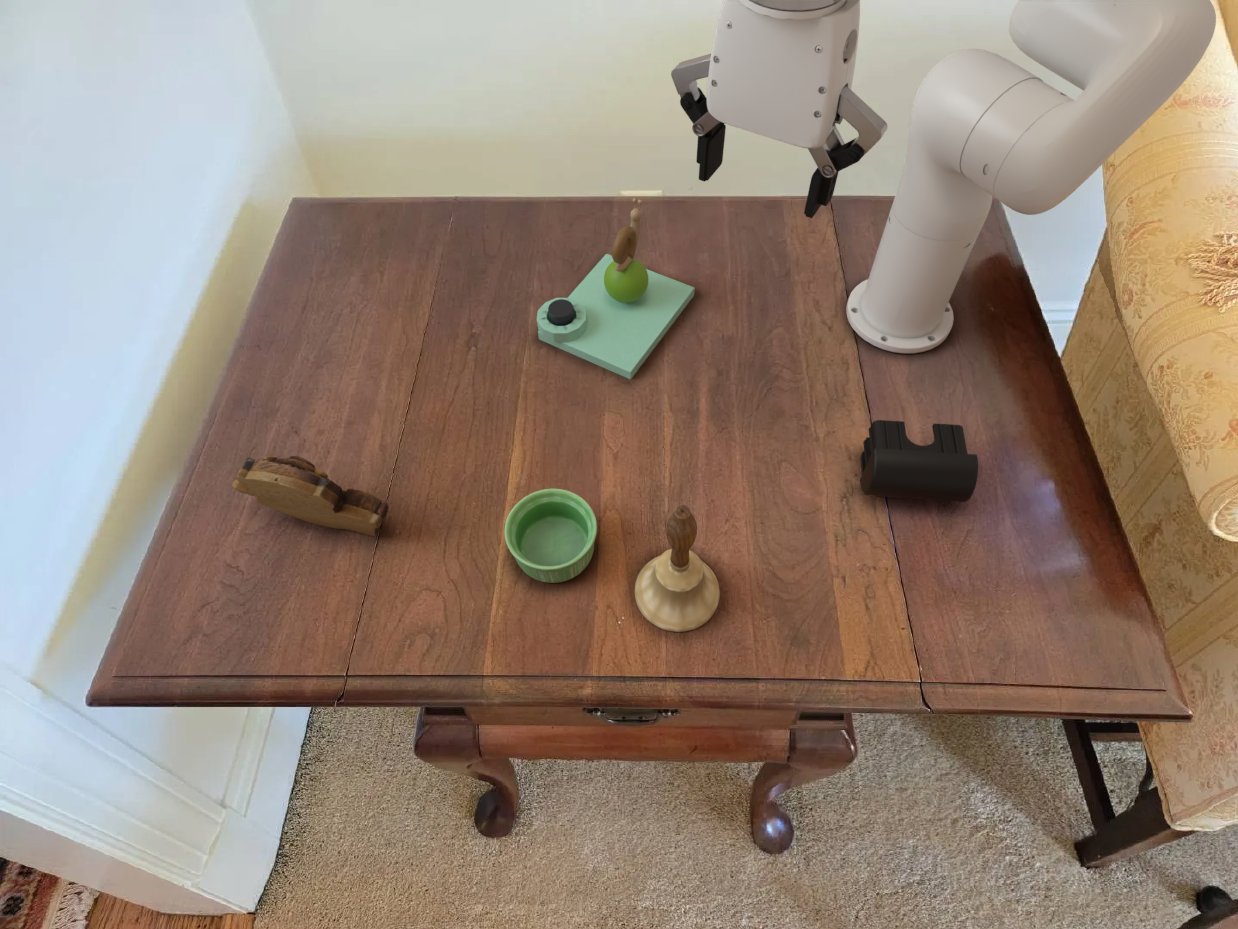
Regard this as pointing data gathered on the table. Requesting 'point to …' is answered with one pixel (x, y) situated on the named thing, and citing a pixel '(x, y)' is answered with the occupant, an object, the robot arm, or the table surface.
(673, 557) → the hand bell
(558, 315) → the button
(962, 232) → the robot arm
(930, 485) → the end cap
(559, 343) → the scale
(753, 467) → the table surface
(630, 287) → the snail figurine
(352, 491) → the wooden carving
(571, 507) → the ramekin
